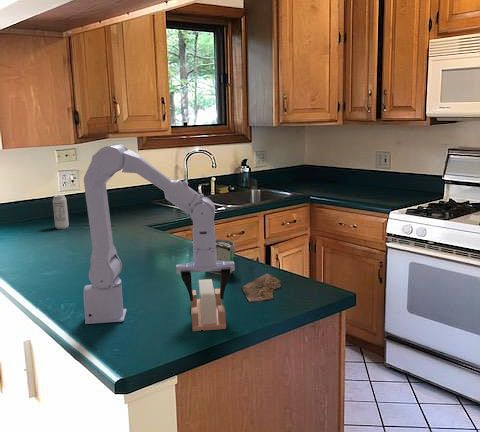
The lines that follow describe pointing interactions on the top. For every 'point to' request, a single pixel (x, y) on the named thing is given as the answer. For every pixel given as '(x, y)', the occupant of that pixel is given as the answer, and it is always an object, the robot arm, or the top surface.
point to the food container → (224, 251)
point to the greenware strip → (207, 301)
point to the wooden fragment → (261, 288)
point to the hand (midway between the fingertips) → (206, 298)
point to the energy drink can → (60, 212)
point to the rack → (196, 314)
